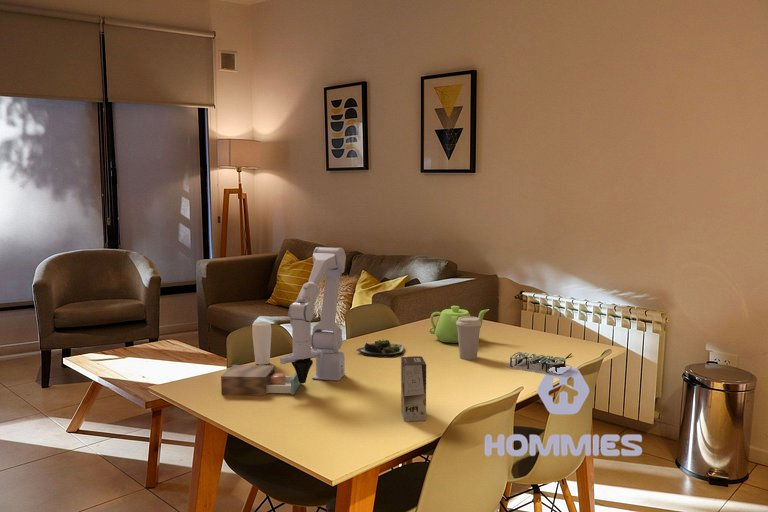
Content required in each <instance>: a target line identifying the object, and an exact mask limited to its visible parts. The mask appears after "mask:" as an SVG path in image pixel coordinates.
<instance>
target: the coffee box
mask: <svg viewBox="0 0 768 512" xmlns="http://www.w3.org/2000/svg"><path fill="white" fill-rule="evenodd" d="M400 369H401V370H400V383H401V385H400V386H401V390H400V397H401V398H400V407H401V408H400V409H401V410H400V411H401V415H402V419H403V421H404V422H421V421H422V422H425V421H426V420H427V363H426V362H425V360H424V358H423V356H420V355H417V356H413V355H412V356H401V357H400Z"/></svg>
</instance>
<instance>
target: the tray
mask: <svg viewBox="0 0 768 512" xmlns="http://www.w3.org/2000/svg"><path fill="white" fill-rule="evenodd" d="M285 376H286V385H270V376H268V377H267V378H266V390H267V394H290V395H292V396H294V395H295V393H296V392H297V390H298V389H299V388H300V385H302V383H300V382H299V380H298V376H297V373H296V372H295V373H294V374H293V376H288V375H285Z"/></svg>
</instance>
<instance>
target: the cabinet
mask: <svg viewBox="0 0 768 512" xmlns="http://www.w3.org/2000/svg"><path fill="white" fill-rule="evenodd" d="M272 374H276V365H269V364H267V365H257V364H233V365H231V367H229V368H228V369H227V370H226V371H225V372H224V373H222V375H221V376H220V387H221V390H220V391H221V395H233V396H234V395H236V396H237V395H238V396H267V395H268V393H267V390H266V378H267V377H268V376H270V375H272Z"/></svg>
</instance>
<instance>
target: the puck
mask: <svg viewBox="0 0 768 512" xmlns="http://www.w3.org/2000/svg"><path fill="white" fill-rule="evenodd" d="M286 376H287V375H286V374H285V373H281V372H280V373H275V374H272V375H270V385H286Z"/></svg>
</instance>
